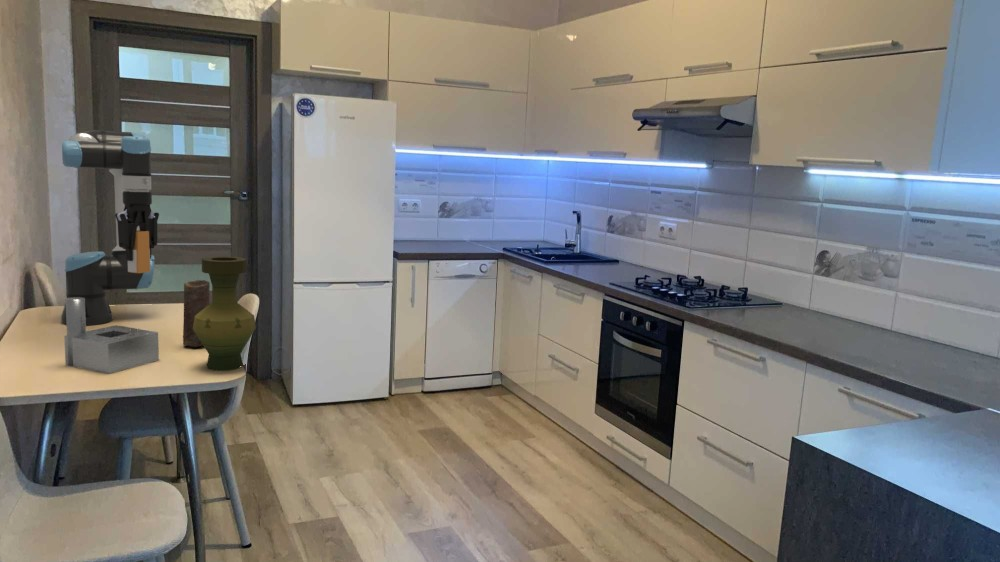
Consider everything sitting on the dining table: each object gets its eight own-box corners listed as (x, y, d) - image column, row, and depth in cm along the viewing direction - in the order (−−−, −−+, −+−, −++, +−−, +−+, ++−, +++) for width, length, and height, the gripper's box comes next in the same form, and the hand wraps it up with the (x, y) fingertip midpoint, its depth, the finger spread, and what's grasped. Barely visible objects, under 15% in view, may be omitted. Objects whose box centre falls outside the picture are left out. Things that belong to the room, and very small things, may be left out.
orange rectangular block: (128, 272, 209) (127, 231, 207) (139, 270, 213) (138, 230, 211) (138, 273, 207) (137, 232, 206) (149, 271, 211) (148, 231, 209)
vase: (267, 362, 205) (267, 258, 200) (234, 376, 189) (233, 264, 185) (216, 356, 208) (215, 253, 204) (180, 370, 193) (178, 259, 188)
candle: (215, 345, 220) (214, 281, 217) (198, 350, 213) (197, 284, 210) (195, 342, 222) (194, 278, 219) (177, 347, 216) (176, 281, 213)
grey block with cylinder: (64, 364, 192) (61, 299, 189) (116, 352, 207) (114, 290, 204) (108, 373, 186) (106, 306, 183) (158, 360, 201) (157, 297, 198)
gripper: (121, 191, 197) (124, 275, 201) (170, 191, 213) (171, 269, 217) (101, 190, 200) (104, 272, 203) (151, 190, 216) (153, 267, 219)
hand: (139, 270), depth 210 cm, fingers closed on orange rectangular block, 4 cm apart
